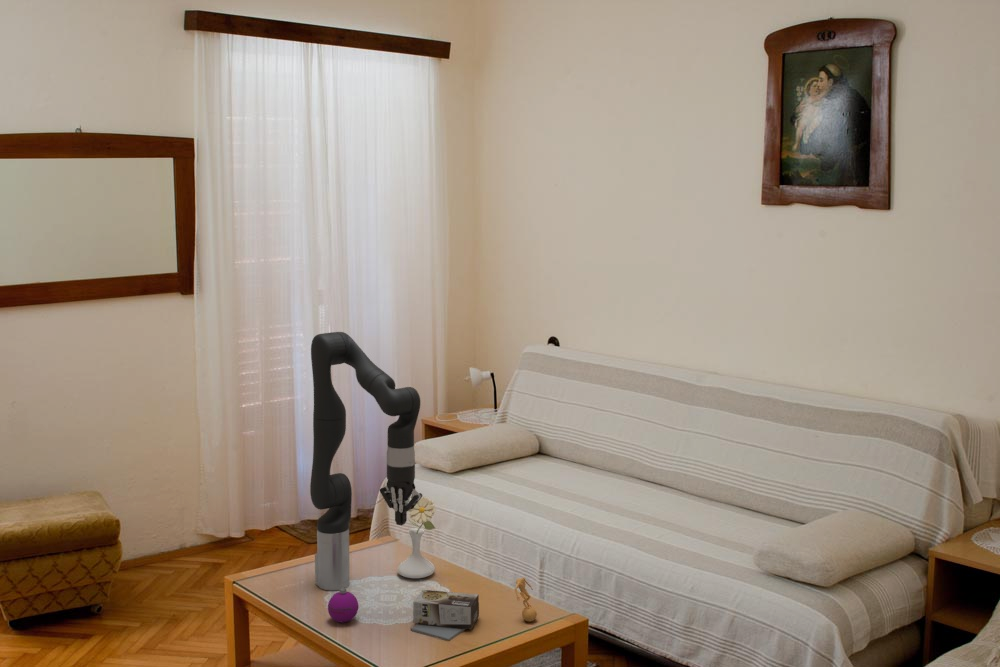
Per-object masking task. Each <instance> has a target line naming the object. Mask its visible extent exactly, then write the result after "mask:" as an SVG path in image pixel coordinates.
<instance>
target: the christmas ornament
mask: <svg viewBox="0 0 1000 667" xmlns="http://www.w3.org/2000/svg"><path fill="white" fill-rule="evenodd" d="M341 587H342V586H341ZM343 587H344V586H343ZM358 611H359V601H358V599H357V597H356V596H355V595H354V594H353V593H352V592H350V591H347V587H346V588H345V587H344V588H341V589H340V590H338V591H337V592H335V593H334V594H333V595H331V597H330V599H329V600H328V604H327V612H328V614H329V616H330V618H331V619H332V620H334V621H335V622H338V623H348V622H350V621H352V620H353V619H354V618H355V616H357V613H358Z"/></svg>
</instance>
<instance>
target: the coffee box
mask: <svg viewBox="0 0 1000 667" xmlns="http://www.w3.org/2000/svg"><path fill="white" fill-rule="evenodd" d="M412 605H413V606H412V608H413V610H412V614H413V615H412V618H413V619H412V623H413V624H416V625H417V624H426V625H436V626H445V627H455V628H464V629H465V630H472V629H473V627H474V625H475V624H476V622H477V620H478V618H479V617H480V602H479V594H477V593H464V592H453V591H443V590H442V591H441V590H432V589H431V590H430V589H429V590H428V589H422V590H421V591H420V592H419V594H418V595H417V596H416V598H415V599H414V601H413V603H412Z"/></svg>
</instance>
